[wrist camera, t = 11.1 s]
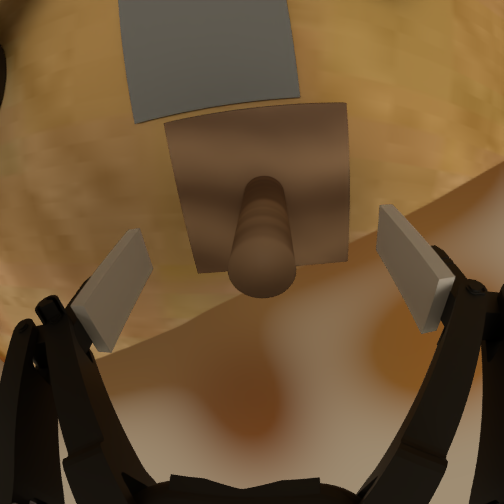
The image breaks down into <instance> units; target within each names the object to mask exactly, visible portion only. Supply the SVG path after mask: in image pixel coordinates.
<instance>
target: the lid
mask: <svg viewBox="0 0 504 504" xmlns="http://www.w3.org/2000/svg"><path fill="white" fill-rule="evenodd" d="M164 126H165V132H166V137H167V142H168V147H169V152H170V157H171V162H172V167H173V172H174V176H175V181H176V185H177V190H178V194H179V199H180V203H181V208H182V212H183V216H184V220H185V224H186V228H187V233H188V237H189V241H190V245H191V248H192V252H193V256H194V260H195V264H196V268H197V271H198V273H211V272H225V271H228V275H229V278H230V280H231V282H232V284H233V285H234V286H235V288H237V289H238V290H239V291H240V292H242V293H244V294H245V295H248V296H251V297H255V298H269V297H274V296H277V295H279V294H281V293H283V292H284V291H286V290H287V289H288V288H289V287H290V286H291V284H292V283H293V281H294V279H295V276H296V266H301V265H313V264H324V263H335V262H346V261H348V243H349V211H350V170H349V138H348V120H347V105H346V103H306V104H289V105H276V106H266V107H256V108H247V109H240V110H232V111H225V112H219V113H212V114H207V115H201V116H195V117H190V118H185V119H180V120H175V121H171V122H167V123H164Z"/></svg>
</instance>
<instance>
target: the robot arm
mask: <svg viewBox="0 0 504 504" xmlns="http://www.w3.org/2000/svg"><path fill="white" fill-rule="evenodd" d="M5 77H6V63H5V56H4V52H3V49H2V47H1V45H0V104H1V101H2V97H3V92H4V86H5ZM376 250H377V252H378V254H379V256H380V257H381V259H382V261H383V262H384V264H385V266H386V268H387V269H388V271H389V273H390V275H391V276H392V278H393V280H394V282H395V284H396V285H397V287H398V289H399V291H400V293H401V295H402V297H403V298H404V300H405V302H406V304H407V306H408V307H409V310H410V312H411V314H412V316H413V318H414V320H415V322H416V324H417V326H418V328H419V330H420V332H421V334H423V333H427V332H432V331H436V330H437V328H438V325H439V323H440V320H441V321H442V323H443V325H444V329H443V331H442V334H441V336H440V338H439V341H438V343H437V348H436V351H435V353H434V356H433V359H432V361H431V364H430V366H429V369H428V371H427V373H426V376H425V378H424V381H423V383H422V385H421V387H420V389H419V392H418V394H417V396H416V398H415V400H414V402H413V404H412V406H411V408H410V410H409V412H408V414H407V416H406V418H405V420H404V422H403V424H402V426H401V428H400V429H399V431H398V433H397V435H396V436H395V438H394V440H393V441H392V443H391V445H390V447H389V448H388V450H387V452H386V453H385V455H384V457H383V458H382V459H381V461H380V463H379V464H378V466H377V467H376V469H375V470H374V471H373V473H372V474H371V475H370V476H369V478H368V479H367V480H366V482H365V483H364V484H363V486H362V487H361V488H360V490H359V491H358V492H357V494H354V493H352V492H350V491H348V490H346V489H344V488H341V487H338V486H334V485H329V484H322V483H320V478H309V479H298V480H281V481H277V482H273V483H269V484H265V485H261V486H257V487H252V488H247V489H238V488H234V487H231V486H227V485H224V484H220V483H217V482H214V481H211V480H208V479H204V478H195V477H186V476H178V475H172V474H171V476H170V481H166V482H161V483H156V482H155V481H154V479H153V478H152V477H151V476H150V475H149V474H148V473H147V472H146V470H145V469H144V467H143V466H142V464H141V462H140V460H139V458H138V457H137V455H136V453H135V451H134V449H133V447H132V446H131V444H130V441H129V440H128V438H127V436H126V434H125V431H124V429H123V427H122V425H121V423H120V421H119V419H118V417H117V414H116V412H115V410H114V408H113V405H112V403H111V401H110V398H109V396H108V393H107V391H106V388H105V386H104V383H103V381H102V378H101V375H100V373H99V370H98V367H97V364H96V361H95V358H94V355H93V353H92V352H91V350H90V349H89V348H90V346H91V344H92V343H93V344H94V346H95V347H96V349H97V350H98V351H99V352H110V353H112V350H113V348H114V346H115V344H116V342H117V340H118V337H119V335H120V333H121V331H122V329H123V327H124V325H125V323H126V321H127V319H128V317H129V315H130V313H131V311H132V309H133V307H134V305H135V303H136V301H137V299H138V297H139V295H140V293H141V291H142V289H143V287H144V285H145V283H146V281H147V280H148V278H149V276H150V274H151V272H152V270H153V267H152V264H151V261H150V258H149V255H148V252H147V249H146V246H145V243H144V240H143V237H142V234H141V230H140V228H137V229H130V230H128V231H127V232H126V233H125V234H124V236H123V237H122V238H121V239H120V240H119V242H118V243H117V244H116V245H115V247H114V248H113V249H112V250H111V252H110V253H109V254H108V255H107V257H106V258H105V259H104V260H103V262H102V263H101V264H100V266H99V267H98V268H97V269H96V271H95V272H94V273H93V275H92V276H91V277H89V278H88V279H87V280H86V281H85V282H84V283H83V284H82V286H81V287H80V289H79V290H78V291H77V292H76V295H74V297H73V298H72V299H71V301H70V302H69V304H68V305H67V307H66V308H65V309H64V307H63V305H62V303H61V302H60V300H59V298H58V296H56V295H51V296H48V297H46V298H44V299H43V300H41V301H40V302H39V303H38V305H37V306H36V308H35V312H36V314H37V315H38V317H39V318H40V320H41V322H42V323H43V325H39V326H36V325H35V324H34V322H33V320H32V319H25V320H22V321H20V322H19V323H18V324H17V326H16V327H15V329H14V331H13V334H12V337H11V341H10V344H9V348H8V351H7V355H6V359H5V363H4V367H3V371H2V376H1V381H0V504H65V502H64V493H63V485H62V477H61V468H60V457H59V443H58V442H59V440H58V419H59V423H60V427H61V430H62V434H63V438H64V442H65V445H66V448H67V451H68V457H67V458H64V459H63V462H62V463H63V468H64V471H65V474H66V477H67V480H68V483H69V485H70V488H71V491H72V493H73V496H74V498H75V501H76V503H77V504H429V502H430V500H431V498H432V496H433V495H434V493H435V491H436V489H437V487H438V485H439V483H440V481H441V479H442V477H443V475H444V473H445V471H446V468H447V464H448V461H447V460H446V455H447V452H448V450H449V448H450V445H451V443H452V440H453V438H454V436H455V433H456V430H457V427H458V425H459V422H460V420H461V417H462V414H463V411H464V407H465V405H466V402H467V398H468V395H469V392H470V388H471V385H472V381H473V377H474V373H475V369H476V365H477V360H478V356H479V351H480V346H481V351H482V373H483V399H482V421H481V432H480V442H479V450H478V457H477V464H476V469H475V475H474V480H473V485H472V489H471V495H470V500H469V504H504V284H503V286H502V287H501V290H500V292H499V293H497V292H488V291H487V289H486V287H485V286H484V285H483V284H482V283H480V282H478V281H476V280H472V279H467V278H466V277H465V276H464V274H463V273H462V272H461V271H460V269H459V268H458V267H457V266H456V265H455V264H454V263H453V261H452V260H451V259H450V258H449V256H448V255H447V254H446V253H445V252H444V251H443V250H441V249H440V248H438V247H437V246H435V245H434V246H430V245H429V244H428V243H427V242H426V240H425V239H424V238H423V237H422V236H421V235H420V233H419V232H418V231H417V230H416V229H415V228H414V227H413V226H412V225H411V224H410V222H409V221H407V219H406V218H405V217H404V216H403V215H402V214H401V213H400V212H399V211H398V210H397V209H396V208H395V207H394V206H393V204H389V205H380V208H379V222H378V234H377V245H376ZM33 362H34V363H35V365H36V367H34V364H33Z"/></svg>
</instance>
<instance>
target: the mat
mask: <svg viewBox="0 0 504 504" xmlns="http://www.w3.org/2000/svg"><path fill="white" fill-rule="evenodd" d="M118 4H119V17H120V27H121V37H122V46H123V54H124V61H125V69H126V75H127V82H128V88H129V94H130V100H131V106H132V111H133V117H134V122H135V124H136V123H140V122H144V121H148V120H152V119H156V118H160V117H164V116H168V115H173V114H177V113H182V112H187V111H192V110H197V109H203V108H208V107H214V106H221V105H227V104H234V103H242V102H250V101H258V100H268V99H279V98H293V97H300V92H299V83H298V75H297V67H296V59H295V52H294V45H293V38H292V32H291V25H290V19H289V13H288V7H287V1H286V0H118Z"/></svg>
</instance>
